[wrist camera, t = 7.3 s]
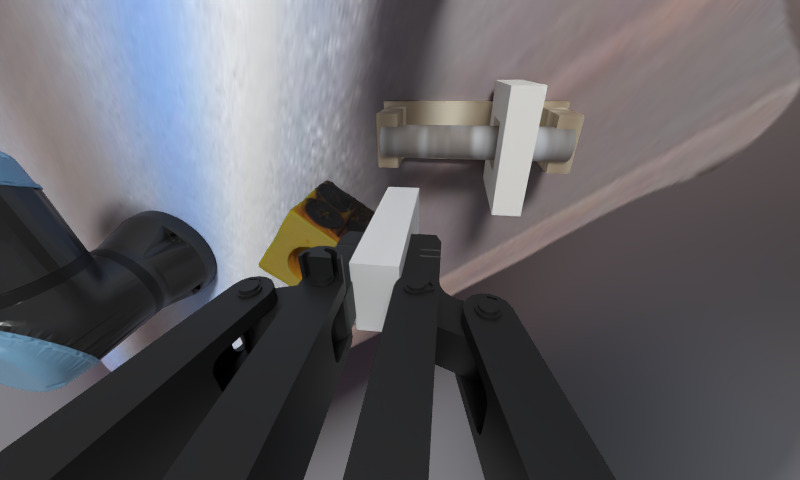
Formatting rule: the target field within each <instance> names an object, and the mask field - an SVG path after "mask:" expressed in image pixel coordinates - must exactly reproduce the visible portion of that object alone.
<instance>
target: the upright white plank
mask: <svg viewBox="0 0 800 480" xmlns="http://www.w3.org/2000/svg"><path fill="white" fill-rule="evenodd" d="M547 86H548V85H544V84H539V83H534V82H529V81H525V80H496V82H495V90H494V97H493V105H492V113H491V120H490V126H498V125H499V124H500V126H499V133H498V140H497V147H496V154H495V161H494V160H485V167H484V175H483V180H484V184H485V189H486V193H487V197H488V202H489V206H490V210H491V215H505V216H521V211H522V206H523V202H524V197H525V192H526V187H527V182H528V177H529V173H530V168H531V163H532V158H533V153H534V149H535V144H536V139H537V134H538V129H539V125H540V120H541V115H542V110H543V105H544V100H545V96H546V91H547Z"/></svg>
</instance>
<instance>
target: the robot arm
mask: <svg viewBox="0 0 800 480" xmlns="http://www.w3.org/2000/svg"><path fill="white" fill-rule="evenodd" d="M42 189H43V188H42V187H41V186H40V185H38V184H36V183H35V182H34V181H33V180H32V179H31V177H30V176H29V175H28V174H27V173H26V172H25V170H24V169H23V168H22V167H21V166H20V165H19V163H18V162H17V161H16V160H15V159H14V158H12V157H11V156H9V155H7V154H5V153H3V152H1V151H0V384H3V385H6V386H10V387H13V388H17V389H21V390H26V391H34V392H47V391H53V390H57V389H59V388H62V387H64V386H66V385H67V384H69V383H70V382H72V381H73V380H75V379H76V378H77V377H79V376H80V375H81V374H83V373H84V372H86V371H87V370H88V369H90V368H91V367H92V366H95V365H97V364H98V363H99V362H100V360H101V359H102V358H103V357H104V356H106V355H107V354H108V353H109V352H110V351H112V350H113V349H114V348H115V347H116V346H118V345H119V344H120V343H121V342H122V341H124V340H125V339H126V338H127V337H128V336H130V335H131V334H132V333H133V332H134V331H136V330H137V329H138V328H139V327H140V326H142V325H143V324H144V323H145V322H146V321H148V320H149V319H150V318H151V317H152V316H154V315H155V314H156V313H157V312H158V311H160V310H161V309H162V308H164V307H166V306H168V305H170V304H173V303H175V302H177V301H180V300H182V299H184V298H187V297H189V296H191V295H194V294H196V293H198V292H200V291H201V290H202V289H204V288H205V287H206V286H207V285H208V284H209V283H210V282H211V281H212V280H213V279H214V277H215V274H216V262H215V258H214V256H213V253H212V251H211V249H210V248H209V246H208V244H207V243H206V242H205V240H204V239H203V238H202V237H201V236H200V235H199V234H198V233H197V232H196V231H195V230H194V229H193V228H192V227H190V226H189V225H188V224H186V223H185V222H183V221H182V220H180V219H178V218H176V217H174V216H172V215H169V214H167V213H163V212H159V211H145V212H141V213H139V214H137V215H135V216H133V217H130V218H128V219H127V220H125V221H124V222H122V223H121V224H120V226H119V227H118V228H117V229H116V230H115V231H114V232H113V233H112V234H111V235H110V236H109V237H108V238H107V239H106V240H105V241H104V242H103V243H102V244H101V245H100V246H99V247H98V248H96V249H95V250H93V251H91V252H88V251H87V249H86V248H85V247H84V245H83V244H82V243H81V241H80V240H79V239H78V238H77V236H76V235H75V234H74V232H73V231H72V230H71V228H70V227H69V226H68V224H67V223H66V222H65V220H64V219H63V218H62V216H61V215H60V214H59V212H58V211H57V210H56V208H55V207H54V206H53V204H52V203H51V202H50V200H49V199H48V198H47V196H46V195H45V194H44V192H43V191H42ZM418 229H419V188H408V187H388V188H387V190H386V192H385V194H384V196H383V198H382V200H381V202H380V204H379V206H378V208H377V210H376V212H375V214H374V215H373V217H372V219H371V221H370V223H369V225H368V227H367V229H366V231H365V232H357V231H350V232H348V233H347V234H345V235H343V236H342V237H341V238H340V240H339V241H338V243H337V245H336V246H335V247H332V246H316V247H312V248H309V249H307V250H304V251H302V252H301V253H300V254H299V255H298V260H299V265H300V269H301V274H302V280H301V281H300V282H299V284H298V285H295V286H289V287H281V288H275V287H274V284H273V282H272V280H271V279H269V278H267V277H260V276H258V277H250V278H247V279H244V280H241V281H239V282H238V283H236V284H234V285H232V286H231V287H230V288H228V289H227V290H225V291H224V292H223V293H221V294H220V295H218V296H217V297H216V298H214V299H213V300H211V301H210V302H209V303H207V304H206V305H204V306H203V307H202V308H200V309H199V310H197V311H196V312H195V313H193V314H192V315H190V316H189V317H188V318H186V319H185V320H184V321H182V322H181V323H179V324H178V325H177V326H175V327H174V328H172V329H171V330H170V331H168V332H167V333H165V334H164V335H163V336H161V337H160V338H158V339H157V340H156V341H154V342H153V343H151V344H150V345H149V346H147V347H146V348H144V349H143V350H142V351H140V352H139V353H137V354H136V355H135V356H133V357H132V358H130V359H129V360H128V361H126V362H125V363H123V364H122V365H121V366H119V367H118V368H116V369H115V370H114V371H112V372H111V373H109V374H108V375H107V376H105V377H104V378H102V379H101V380H100V381H98V382H97V383H96V384H94V385H93V386H91V387H90V388H89V389H87V390H86V391H84V392H83V393H82V394H80V395H79V396H77V397H76V398H75V399H73V400H72V401H70V402H69V403H68V404H66V405H65V406H63V407H62V408H61V409H59V410H58V411H56V412H55V413H54V414H52V415H51V416H50V417H48V418H47V419H45V420H44V421H43V422H41V423H40V424H38V425H37V426H36V427H34V428H33V429H31V430H30V431H29V432H27V433H26V434H24V435H23V436H22V437H20V438H19V439H17V440H16V441H14V442H13V443H12V444H10V445H9V446H8V447H6V448H5V449H3V450H2V451H1V452H0V480H303V479H304V476H305V474H306V471H307V468H308V465H309V462H310V459H311V457H312V454H313V451H314V448H315V445H316V442H317V440H318V437H319V434H320V431H321V428H322V426H323V423H324V420H325V417H326V414H327V411H328V408H329V406H330V403H331V400H332V397H333V394H334V392H335V389H336V386H337V383H338V380H339V378H340V375H341V372H342V369H343V366H344V363H345V360H346V358H347V355H348V352H349V349H350V346H351V344H352V337H353V336H352V326H353V323H354V321H355V319H356V327H357V329H358V330H367V331H377V332H382V333H381V337H380V340H379V344H378V348H377V352H376V355H375V359H374V363H373V367H372V371H371V374H370V378H369V383H368V386H367V390H366V393H365V398H364V401H363V405H362V409H361V413H360V417H359V420H358V424H357V428H356V432H355V435H354V439H353V443H352V447H351V451H350V455H349V459H348V462H347V466H346V470H345V473H344V477H343V480H428V478H429V459H430V442H431V423H432V405H433V387H434V369H435V364H436V365H438V366H440V367H443V368H445V369H448V370H450V371H452V372H454V373H455V375H456V380H457V383H458V387H459V390H460V394H461V397H462V401H463V404H464V407H465V411H466V415H467V418H468V421H469V425H470V429H471V432H472V436H473V439H474V443H475V446H476V450H477V453H478V457H479V460H480V464H481V467H482V471H483V474H484V478H485V480H616V478H615V477H614V475H613V474H612V472H611V470H610V469H609V467H608V465H607V464H606V462H605V460H604V459H603V457H602V455H601V454H600V452H599V450H598V449H597V447H596V445H595V444H594V442H593V440H592V439H591V437H590V435H589V434H588V432H587V430H586V429H585V427H584V425H583V424H582V422H581V421H580V419H579V418H578V416H577V414H576V412H575V411H574V409H573V407H572V406H571V404H570V402H569V401H568V399H567V398H566V396H565V394H564V392H563V391H562V389H561V387H560V386H559V384H558V382H557V381H556V379H555V378H554V376H553V374H552V372H551V371H550V369H549V368H548V366H547V364H546V363H545V361H544V359H543V358H542V356H541V354H540V353H539V351H538V349H537V348H536V346H535V345H534V343H533V341H532V339H531V338H530V336H529V334H528V333H527V331H526V329H525V328H524V326H523V325H522V323H521V321H520V320H519V318H518V316H517V315H516V313H515V311H514V310H513V308H512V307H511V306H510V305H509V304H508V302H506V301H505V300H503V299H501V298H500V297H497V296H494V295H491V294H476V295H472V296H470V297H469V298H467V299H466V300H465V301H462V300H459V299H456V298H453V297H451V296H450V295H448V294H447V293H445V292H444V291H443V290H442V288H441V286H440V283H439V274H440V255H441V241H440V240H439V238H438V237H437V236H436V235H424V234H418ZM239 337H240V338H241V340H242V343H243V344H242V345H241V346H240V347H238V348H237V349H233V346H232V344H233V343H234V342H235V341H236V340H237V339H238V338H239Z"/></svg>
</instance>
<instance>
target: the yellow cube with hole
mask: <svg viewBox="0 0 800 480" xmlns="http://www.w3.org/2000/svg"><path fill="white" fill-rule="evenodd" d="M374 214H375V213H374V211H372V210H370V209H369V208H367V207H366V206H365V205H364V204H362V203H361V202H359V201H357V200H356V199H355V198H353V197H352V196H350V195H349V194H347V193H345V192H344V191H342V190H341V189H339V188H338V187H337V186H336V185H335V184H334V183H333V182H330V181H328V180H327V181H325V182H324V183H322V184H320V185H319V186H318V187H317V188H316V189H315V190H314V191H312V192H311V193H310V194H309V195H308V196H307V197H306V198H305V199H304V200H303V202H300V203H299V204H298V205H297V206H295V207H294V208H292V209H291V210H290V212H289V213H288V215H287V216H286V218H285V220H284V221H283V223H282V225H281V227H280V229H279V231H278V233H277V235H276V237H275V239H274V241H273V242H272V244H271V245H270V247H269V248H268V249H267V251H266V253H265V254H264V256H263V258H262V259H261V261H260V263H259V267H260V268H262V269H263V270H265V271H266V272H268V273H269V274H271V275H273V276H275V277H276V278H278V279H280V280H281V281H283V282H284V283H286V284H288V285H289V286H295V285H298V284H299V282H300V281H301V280H302V274H301V269H300V265H299V260H298V255H299V254H300V253H301V252H302V251H304V250H307V249H309V248H312V247H316V246H332V247H335V246H336V245H337V243H338V241H339V240H340V238H341V237H342V236H343V235H345V234H347V233H348V232H350V231H357V232H365V231H366V229H367V227H368V225H369V223H370V221H371V219H372V217H373V215H374Z"/></svg>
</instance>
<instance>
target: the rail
mask: <svg viewBox="0 0 800 480" xmlns="http://www.w3.org/2000/svg"><path fill="white" fill-rule="evenodd" d="M492 105H493V101H384V109H383V110H382V111H380V112H378V113H377V114H376V129H377V148H378V167H386V168H398V167H399V165H400V164H401V162H402V160H403V158H438V159H472V160H494V161H495V154H496V147H497V140H498V133H499V126H500V124H499V125H498V126H490V120H491V113H492ZM569 105H570V102H569V101H544V105H543V110H542V115H541V120H540V125H539V129H538V134H537V139H536V144H535V149H534V153H533V158H532V161H536V162H537V163H538V164H539V165H540V166H541V168H542V169H543V170H544V171H545V172H546V173H559V174H569V172H570V168H571V165H572V161H573V157H574V154H575V150H576V147H577V143H578V139H579V136H580V132H581V128H582V125H583V121H584V118H585V115H582V114H580V113H577V112H574V111H572V110H569Z"/></svg>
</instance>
